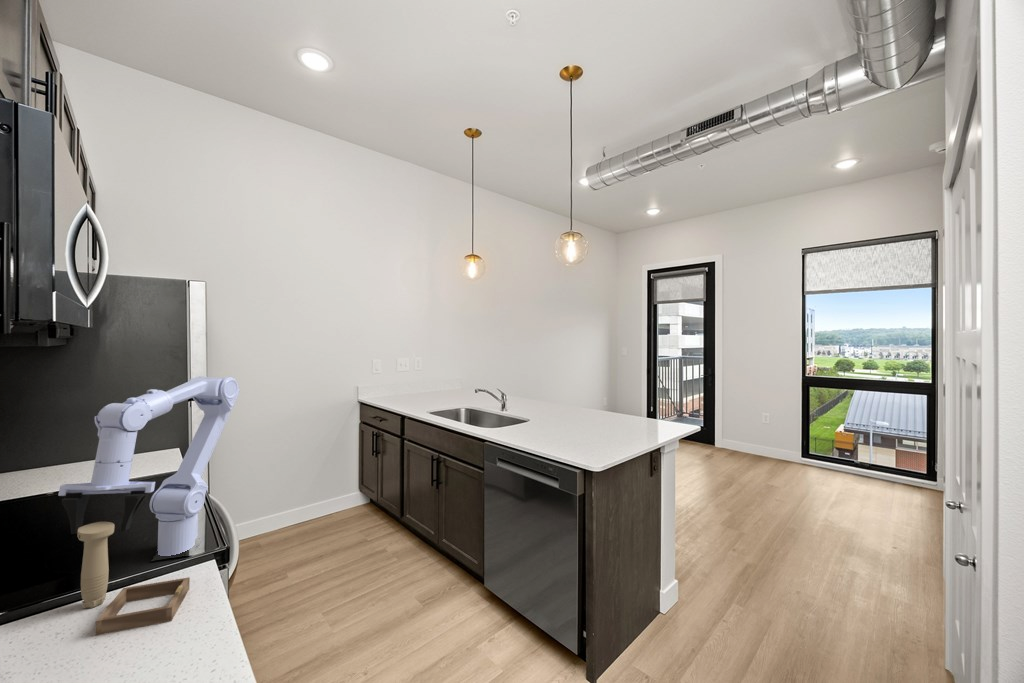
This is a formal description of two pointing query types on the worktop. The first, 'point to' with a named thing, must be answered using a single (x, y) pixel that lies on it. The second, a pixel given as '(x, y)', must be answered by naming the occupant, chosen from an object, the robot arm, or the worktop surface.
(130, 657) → the worktop surface
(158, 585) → the collar
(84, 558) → the handle
